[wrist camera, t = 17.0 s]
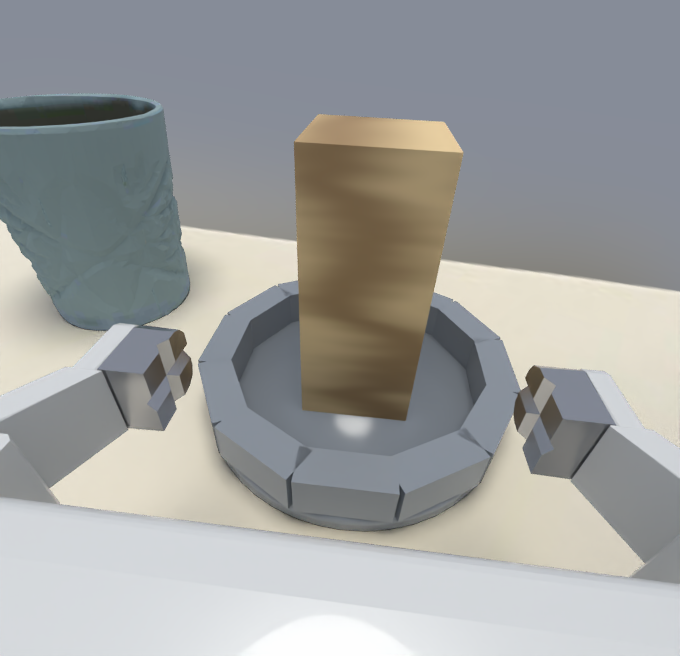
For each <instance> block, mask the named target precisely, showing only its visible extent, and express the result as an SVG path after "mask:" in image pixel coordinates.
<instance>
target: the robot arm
mask: <svg viewBox="0 0 680 656" xmlns="http://www.w3.org/2000/svg"><path fill="white" fill-rule="evenodd" d="M186 344H187V342H186V339H185V335H184V333H183V332H182V331H180V330H176V329H168V328H160V327H152V326H143V325H132V324H124V323H118V324H115V325H113V326H112V327H111V328H110V329H109V330H108V331H107V332H106V333H105V334H104V335H103V336H102V337H101V338H100V339H99V340H98V341H97V342H96V343H95V344H94V345H93V346H92V348H91V349H90V350H89V351H88V352H87V353H86V354H85V355H84V356H83V357H82V358H81V359H80V360H79V361H78V362H77V363H76V364H75V365H74V366H73V367H72V368H71V367H64V368H62V369H60V370H57V371H55V372H53V373H51V374H48V375H46V376H44V377H42V378H39V379H37V380H35V381H32V382H30V383H28V384H26V385H23V386H21V387H19V388H17V389H14V390H12V391H10V392H8V393H5V394H3V395H1V396H0V656H680V448H678V447H677V446H676V445H674V444H673V443H671V442H670V441H668V440H667V439H665V438H664V437H662V436H661V435H660V434H658V433H657V432H655V431H654V430H649V429H645V428H644V426H643V425H642V423H641V422H640V420H639V419H638V417H637V416H636V414H635V413H634V411H633V410H632V408H631V406H630V405H629V403H628V402H627V400H626V399H625V397H624V396H623V394H622V393H621V391H620V390H619V388H618V386H617V385H616V383H615V382H614V380H613V379H612V377H611V376H610V375H609V374H608V373H606V372H605V371H596V370H583V369H580V370H577V369H567V368H556V367H545V366H535V365H534V366H533V367H532V368H531V369H530V370H529V371H528V373H527V375H526V378H525V379H526V381H527V384H528V386H527V387H526V388H524V389H523V390H521V391H519V393H518V395H517V398H516V400H515V405H514V421H515V425H516V429H517V432H519V433H520V434H521V435H522V436H523V437H524V438H525V439H526V442H525V444H524V446H523V451H524V454H525V457H526V460H527V463H528V466H529V469H530V472H531V474H537V475H544V476H551V477H558V478H565V479H572V480H571V482H572V483H573V484H574V485H575V487H576V488H577V489H578V490H579V491H580V492H581V493H582V494H583V495H584V497H585V498H586V499H587V500H588V501H589V502H590V503H591V504H592V505H593V506H594V508H595V509H596V510H597V511H598V512H599V513H600V514H601V515H602V516H603V518H604V519H605V520H606V521H607V522H608V523H609V524H610V525H611V526H612V527H613V529H614V530H615V531H616V532H617V533H618V534H619V535H620V536H621V537H622V539H623V540H624V541H625V542H626V543H627V544H628V545H629V546H630V547H631V548H632V550H633V551H634V552H635V553H636V554H637V555H638V556H639V557H640V558H641V560H642V561H643V562H644V563H645V564H644V565H642V566H641V567H640V568H639V569H638V570H636V571H635V572H634V573H633V574H632V575H631V576H630V577H622V576H614V575H606V574H599V573H591V572H583V571H575V570H568V569H560V568H552V567H544V566H536V565H529V564H521V563H513V562H505V561H498V560H490V559H482V558H474V557H467V556H459V555H451V554H443V553H436V552H428V551H420V550H412V549H405V548H397V547H389V546H381V545H374V544H366V543H358V542H350V541H342V540H335V539H327V538H319V537H311V536H303V535H295V534H288V533H280V532H272V531H264V530H256V529H248V528H240V527H233V526H225V525H217V524H209V523H202V522H194V521H186V520H178V519H171V518H163V517H155V516H147V515H139V514H132V513H124V512H116V511H108V510H101V509H93V508H85V507H77V506H70V505H62V504H60V502H59V501H58V500H57V498H56V497H55V496H54V494H53V493H52V492H51V490H50V489H49V488H50V487H52V486H53V485H54V484H56V483H57V482H58V481H60V480H61V479H63V478H64V477H65V476H67V475H68V474H69V473H71V472H72V471H73V470H75V469H76V468H77V467H79V466H80V465H81V464H83V463H84V462H85V461H87V460H88V459H90V458H91V457H92V456H94V455H95V454H96V453H98V452H99V451H100V450H102V449H103V448H104V447H106V446H107V445H108V444H110V443H111V442H113V441H114V440H115V439H117V438H118V437H119V436H121V435H122V434H123V433H125V432H126V431H127V430H128V428H134V429H145V430H156V431H164V430H165V428H166V427H167V425H168V423H169V421H170V420H171V418H172V416H173V414H174V413H175V411H176V405H175V402H174V401H176V400H177V399H179V398H181V397H182V396H184V395H185V394H186V392H187V390H188V388H189V386H190V383H191V378H192V362H191V358H190V357H189V356H188V355H187V354H186V353H185V352H184V351H183V349H184V347H185V346H186Z"/></svg>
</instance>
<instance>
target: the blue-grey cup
mask: <svg viewBox="0 0 680 656" xmlns="http://www.w3.org/2000/svg"><path fill="white" fill-rule="evenodd" d="M172 179H173V175H172V168H171V162H170V155H169V150H168V141H167V133H166V125H165V118H164V111H163V107H162V106H161V105H160V104H159V103H158V102H156V101H154V100H151V99H146V98H141V97H136V96H127V95H115V94H53V95H36V96H24V97H14V98H5V99H0V219H1V220H2V221H3V222H4V223H6V224H7V228H8V231H9V232H10V233H11V236H12V239H13V240H14V241H15V242H16V244H17V245H18V246H19V248H20V251H21V253H22V254H23V255H24V256H25V257H26V258H28V259H29V260H30V261H31V262H32V267H33V269H34V270H35V271H36V273H37V278H38V279H39V280H40V282H41V284H42V285H43V287H44V289H45V290H46V291H47V293H48V294H49V295H50V296H51V298H52V300H53V303H54V305H55V307H56V308H57V310H58V311H59V313H60V314H61V316H62V317H63V318H64V319H65V320H66V321H68V322H69V323H70V324H72V325H75V326H77V327H80V328H84V329H89V330H109V329H110V328H111V327H112V326H113V325H115V324H118V323H124V324H132V325H144V324H146V323H149V322H151V321H154V320H156V319H159V318H161V317H162V316H164V315H168V314H169V313H170V312H171V311H172V310H173V309H176V308H177V307H178V306H179V305H180V304H181V303H182V302H183V301H184V299H185V298H186V296H187V294H188V291H189V286H190V281H189V275H188V269H187V263H186V256H185V252H184V249H183V247H182V246H181V241H180V239H181V235H182V232H181V228H180V221H179V215H178V207H177V201H176V200H175V197H174V196H173V183H172Z"/></svg>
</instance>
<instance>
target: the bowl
mask: <svg viewBox="0 0 680 656" xmlns="http://www.w3.org/2000/svg"><path fill="white" fill-rule="evenodd" d="M198 361H199V363H198V367H199V371H200V375H201V380H202V384H203V388H204V392H205V397H206V401H207V405H208V409H209V414H210V418H211V422H212V426H213V430H214V434H215V438H216V442H217V447H218V451H219V453H221V457H222V458H223V459H225V460H226V462H227V464H228V466H229V467H230V468H231V470H232V471H233V472H234V473H235V475H236V476H237V477H238V479H239V480H240V481H241V482H242V483H243V484H244V485H245V486H246V487H247V488H249V489H250V490H251V491H252V492H253V493H254V494H255V495H256V496H258V497H259V498H261V499H262V500H264V501H265V502H267V503H268V504H269V505H271V506H272V507H274V508H276V509H278V510H280V511H282V512H284V513H286V514H288V515H290V516H292V517H294V518H297V519H300V520H303V521H306V522H309V523H312V524H315V525H319V526H324V527H330V528H335V529H340V530H355V531H374V530H387V529H394V528H398V527H403V526H407V525H412V524H415V523H418V522H421V521H423V520H426V519H428V518H431V517H434V516H436V515H438V514H439V513H441V512H443V511H445V510H446V509H448V508H450V507H452V506H453V505H455V504H456V503H457V502H458V501H460V500H461V499H462V498H463V497H465V496H466V495H467V494H468V493H469V492H470V491H471V490H472V489H473V488H474V487H476V486H478V484H479V483H481V481H482V479H483V477H484V475H485V472H486V470H487V468H488V466H489V464H490V462H491V460H492V458H493V456H494V453H495V451H496V449H497V447H498V445H499V443H500V441H501V439H502V437H503V434H504V432H505V430H506V428H507V426H508V424H509V422H510V420H511V417H512V415H513V413H514V405H515V400H516V398H517V395H518V393H519V391H521V390H520V388H519V385H518V382H517V379H516V377H515V374H514V371H513V368H512V366H511V363H510V360H509V358H508V355H507V352H506V349H505V347H504V344H503V341H502V340H500V337H499V336H497V335H496V334H495V333H494V332H493V331H491V330H490V329H489V328H488V327H487V326H485V325H484V324H483V323H482V322H481V321H479V320H478V319H477V318H476V317H475V316H473V315H472V314H471V313H470V312H469V311H467V310H466V309H465V308H464V307H462V306H461V305H460V304H459V303H458V302H456V301H454V302H453V299H450V298H448V297H445V296H442V295H439V294H437V293H434V292H433V297H432V301H431V306H430V311H429V315H428V320H427V325H426V329H425V334H424V338H423V343H422V348H421V352H420V357H419V362H418V366H417V371H416V376H415V380H414V385H413V390H412V394H411V399H410V404H409V408H408V413H407V417H406V421H400V420H391V419H381V418H372V417H362V416H353V415H343V414H334V413H324V412H315V411H306V410H302V388H301V355H300V322H299V289H298V281H293V282H288V283H282V284H278V286H273V287H271V288H269V289H268V290H266V291H264V292H263V293H261V294H259V295H257V296H256V297H254V298H252V299H250V300H249V301H247V302H245V303H243V304H242V305H240V306H238V307H236V308H235V309H233V310H231V311H230V312H228V315H225V316H224V318H223V319H222V321H221V323H220V324H219V326H218V328H217V330H216V331H215V333H214V335H213V336H212V338H211V340H210V342H209V343H208V345H207V347H206V348H205V350H204V352H203V354H202V355H201V357H200V359H199V360H198Z"/></svg>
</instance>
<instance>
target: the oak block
mask: <svg viewBox="0 0 680 656" xmlns="http://www.w3.org/2000/svg"><path fill="white" fill-rule="evenodd" d="M294 156H295V186H296V187H295V189H296V223H297V256H298V289H299V322H300V355H301V388H302V410H306V411H315V412H324V413H334V414H343V415H353V416H362V417H372V418H381V419H391V420H400V421H406V417H407V413H408V408H409V404H410V399H411V394H412V390H413V385H414V380H415V376H416V371H417V366H418V362H419V357H420V352H421V348H422V343H423V338H424V334H425V329H426V325H427V320H428V315H429V311H430V306H431V301H432V297H433V292H434V287H435V283H436V278H437V273H438V269H439V264H440V259H441V255H442V250H443V246H444V241H445V236H446V232H447V227H448V222H449V218H450V213H451V208H452V204H453V199H454V194H455V190H456V185H457V180H458V176H459V171H460V167H461V162H462V157H463V151H462V150H461V148H460V146H459V145H458V143H457V142H456V140H455V138H454V137H453V135H452V133H451V132H450V130H449V129H448V127H447V125H446V124H445V122H435V121H420V120H403V119H387V118H370V117H354V116H337V115H321V114H318V115H317V116H316V118H315V119H314V120H313V121H312V122H311V123H310V125H308V127H307V128H306V129H305V130H304V131H303V132H302V133H301V134H300V136H299V137H298V138H297V139H296V140H295V141H294Z"/></svg>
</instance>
